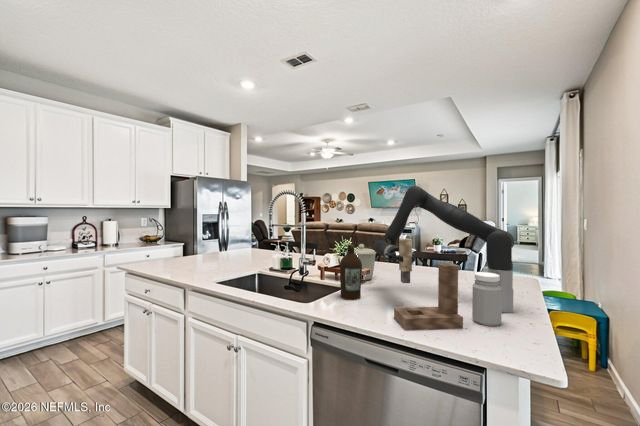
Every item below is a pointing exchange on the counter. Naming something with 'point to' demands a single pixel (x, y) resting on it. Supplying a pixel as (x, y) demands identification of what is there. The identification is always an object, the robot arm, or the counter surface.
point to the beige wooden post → (405, 259)
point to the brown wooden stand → (436, 316)
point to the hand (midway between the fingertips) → (408, 259)
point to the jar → (487, 299)
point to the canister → (366, 259)
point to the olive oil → (350, 275)
